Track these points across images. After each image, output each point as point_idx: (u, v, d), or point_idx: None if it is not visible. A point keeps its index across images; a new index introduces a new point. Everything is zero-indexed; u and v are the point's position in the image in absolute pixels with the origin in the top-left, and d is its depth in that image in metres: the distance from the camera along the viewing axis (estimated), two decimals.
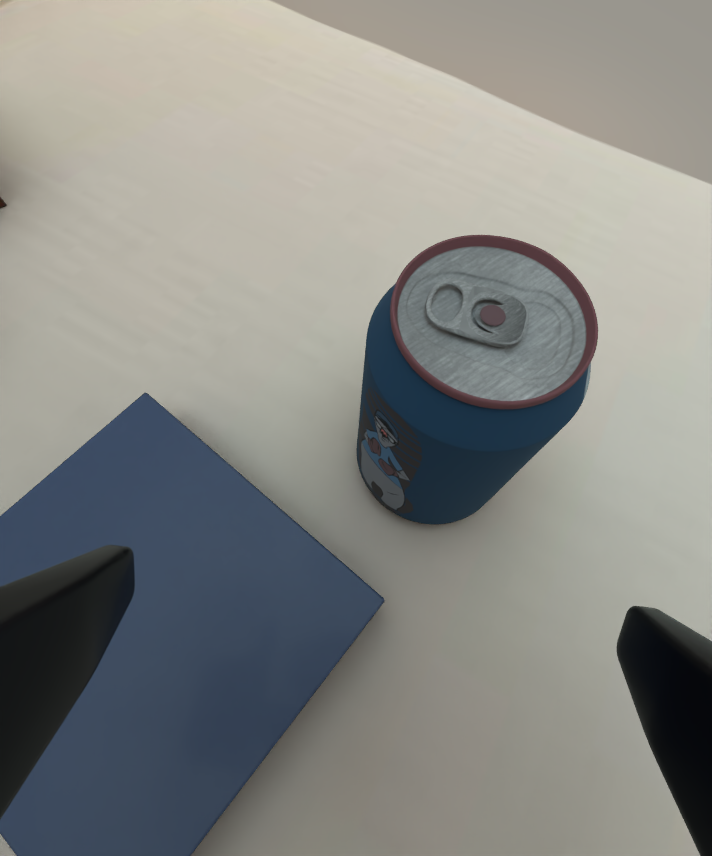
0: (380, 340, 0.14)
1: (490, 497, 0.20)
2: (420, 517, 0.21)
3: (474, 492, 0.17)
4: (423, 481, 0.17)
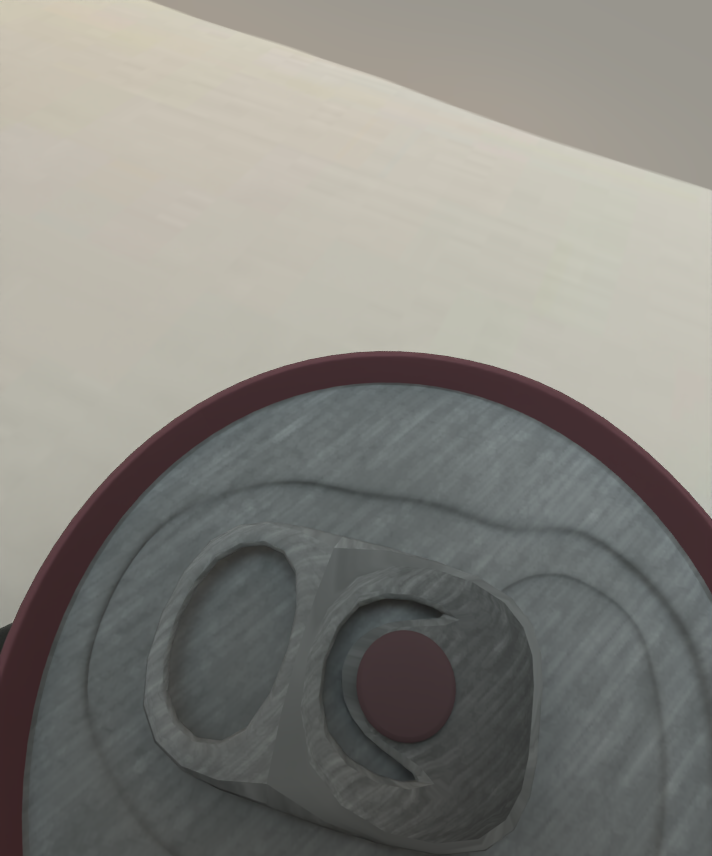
0: None
1: None
2: None
3: None
4: None
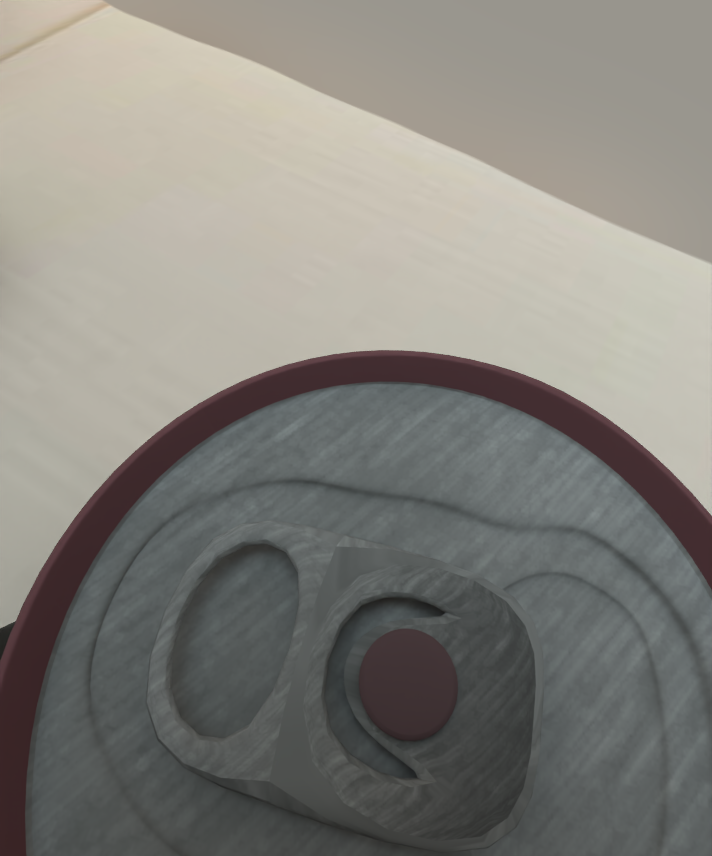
0: None
1: None
2: None
3: None
4: None
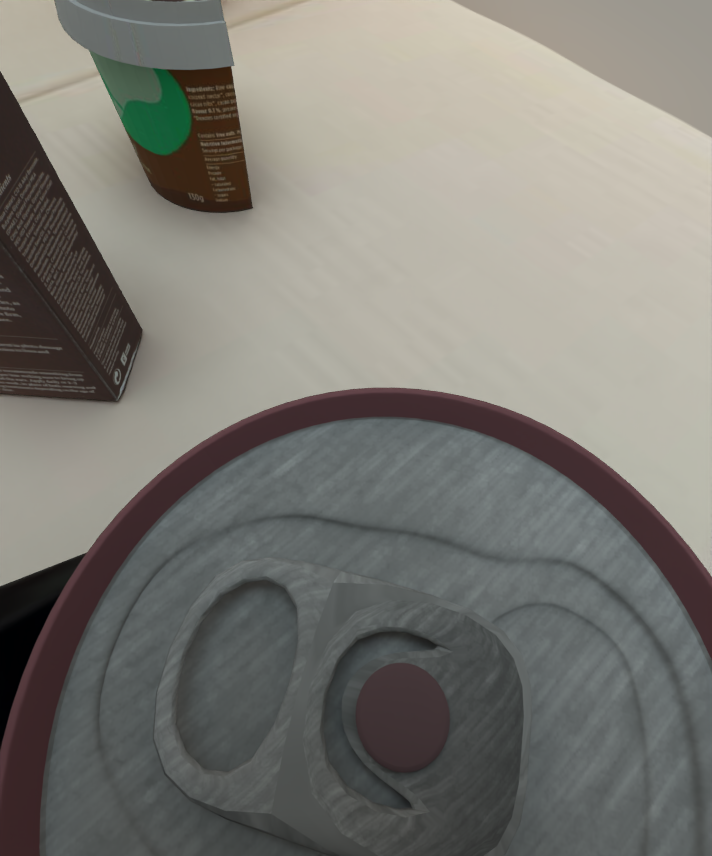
0: None
1: None
2: None
3: None
4: None
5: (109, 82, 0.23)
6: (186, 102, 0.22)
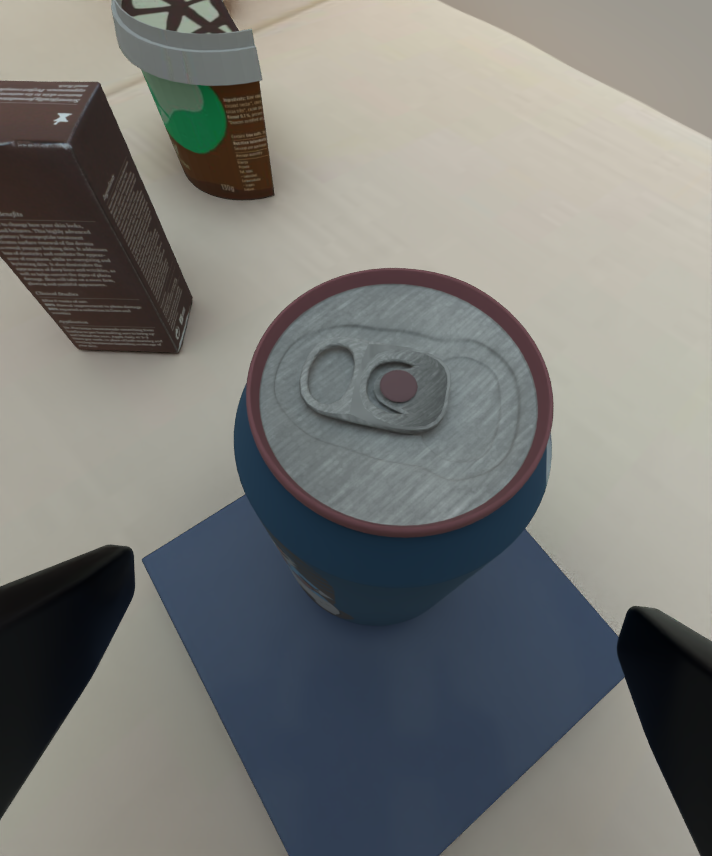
0: (244, 435, 0.10)
1: None
2: (366, 623, 0.16)
3: (421, 605, 0.13)
4: (348, 603, 0.12)
5: (159, 96, 0.28)
6: (223, 110, 0.27)
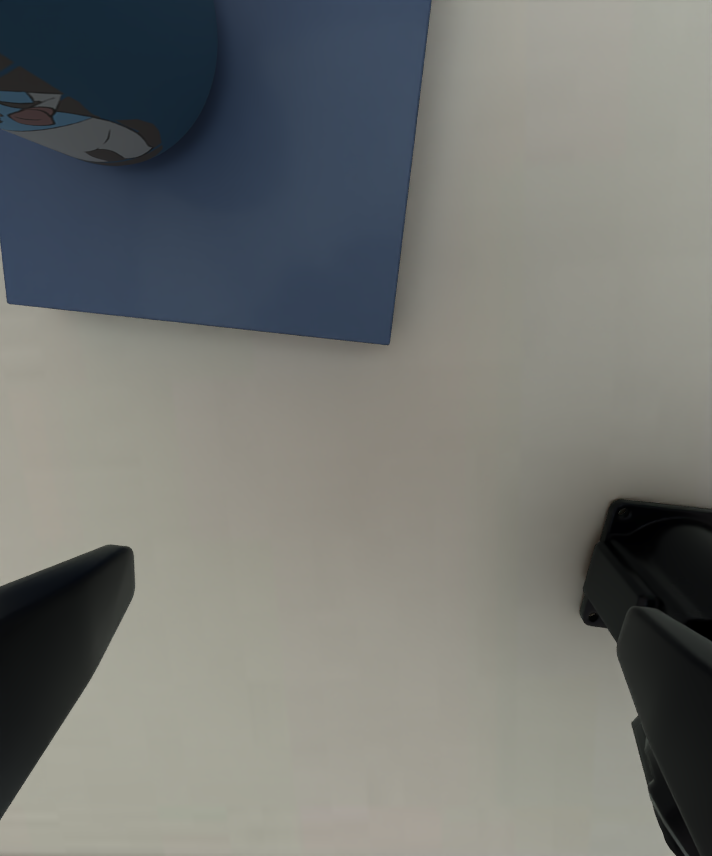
0: None
1: None
2: (175, 120, 0.14)
3: None
4: (61, 71, 0.09)
5: None
6: None
